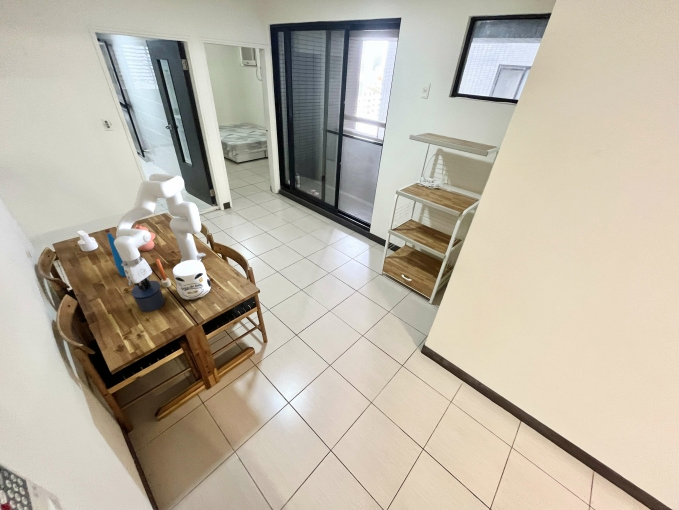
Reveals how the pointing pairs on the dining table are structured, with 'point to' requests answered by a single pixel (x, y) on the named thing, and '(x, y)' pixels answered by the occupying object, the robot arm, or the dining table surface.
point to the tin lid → (149, 290)
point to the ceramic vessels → (150, 244)
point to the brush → (163, 275)
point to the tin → (150, 302)
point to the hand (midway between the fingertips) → (145, 287)
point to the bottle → (115, 254)
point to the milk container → (191, 279)
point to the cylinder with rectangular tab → (86, 241)
